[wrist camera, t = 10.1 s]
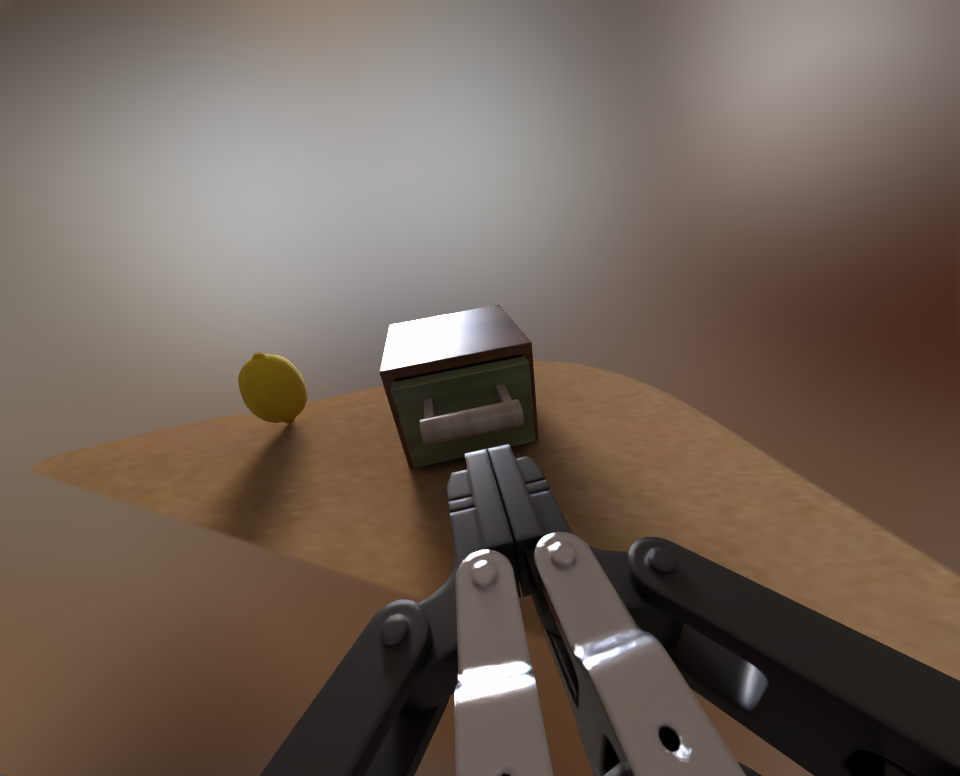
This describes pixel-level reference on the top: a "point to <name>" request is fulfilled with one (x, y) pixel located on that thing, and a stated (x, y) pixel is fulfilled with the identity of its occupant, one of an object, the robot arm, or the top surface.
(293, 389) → the lemon
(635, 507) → the top surface
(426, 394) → the drawer
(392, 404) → the cabinet
